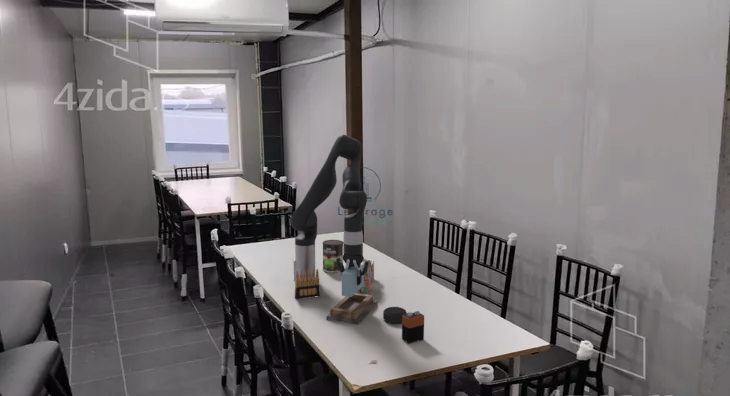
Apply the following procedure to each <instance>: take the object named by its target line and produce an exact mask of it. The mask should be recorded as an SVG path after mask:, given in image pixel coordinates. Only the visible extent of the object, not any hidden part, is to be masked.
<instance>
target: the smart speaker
mask: <svg viewBox="0 0 730 396" xmlns="http://www.w3.org/2000/svg"><path fill="white" fill-rule="evenodd" d="M382 313H383V314H382V316H383V317H382V318H383V321H385V322H386V323H389V324H392V325H393V324H394V325H395V324H397V325H398V324H402V316H403V315H405V314H407V313H408V312H407V311H406V309H405V308H403V307H401V306H400V307H399V306H389V307H386V308H385V309H384V310H383V312H382Z"/></svg>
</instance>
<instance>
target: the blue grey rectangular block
mask: <svg viewBox="0 0 730 396" xmlns="http://www.w3.org/2000/svg"><path fill="white" fill-rule="evenodd" d="M363 268H364V264H361V270H362V271H363ZM363 286H364V275H362V282H361V284H360V285H357V271H356V270H355V268H354V267H350V268H349V269H346V270H345V271H344V272H342V273H341V297H345V296H348V297H352V296H353V295H354V294H355V293H356V292H357V291H359V290H360V289H361V288H362V287H363Z"/></svg>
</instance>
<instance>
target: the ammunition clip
mask: <svg viewBox="0 0 730 396" xmlns="http://www.w3.org/2000/svg"><path fill="white" fill-rule="evenodd" d="M294 281H295V283H294V284H295V286H294V299H295V300H301V299H307V298H308V299H309V297H310V298H315V296H318V297H321V292H320V291H321V290H320V276H319V269H318V268H316V269H315V273H314V269H313V270H312V278H311V274H310V270H309V271H308V279H307V274H306V270H305V271H304V279H303V275H302V271H300V279H299V276H298V271H297V272H296V280H294Z"/></svg>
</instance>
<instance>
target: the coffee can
mask: <svg viewBox="0 0 730 396" xmlns="http://www.w3.org/2000/svg"><path fill="white" fill-rule="evenodd" d="M343 255H344V240H339V239H326V240H323V241H322V271H323V272H325V273H340V270H339V267H338V264H337V261H336V259H337V258H338V257H343Z"/></svg>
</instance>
